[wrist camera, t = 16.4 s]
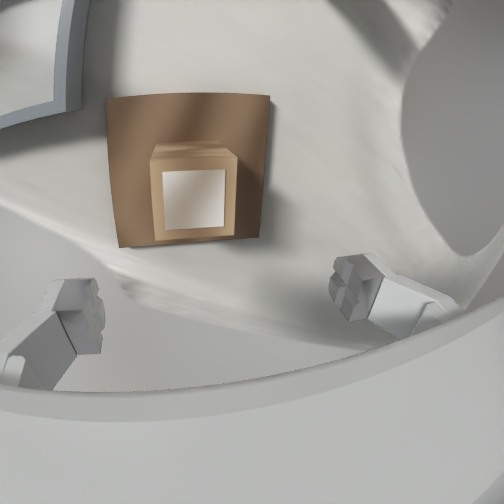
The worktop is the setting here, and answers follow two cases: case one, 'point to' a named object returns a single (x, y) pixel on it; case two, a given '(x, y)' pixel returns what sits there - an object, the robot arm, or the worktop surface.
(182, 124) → the walnut board
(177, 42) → the worktop surface
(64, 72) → the bin
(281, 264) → the worktop surface
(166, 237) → the oak block
